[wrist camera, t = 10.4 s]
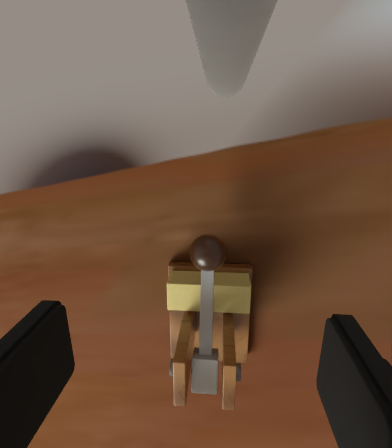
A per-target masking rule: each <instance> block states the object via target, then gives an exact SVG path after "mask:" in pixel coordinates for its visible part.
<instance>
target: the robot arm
mask: <svg viewBox="0 0 392 448" xmlns="http://www.w3.org/2000/svg"><path fill="white" fill-rule="evenodd" d="M74 367H75V362H74V356H73V350H72V344H71V338H70V332H69V326H68V320H67V314H66V309H65V306H63V305H61V303H60V302H59V301H48V300H43V301H41V302H40V303H39V304H38V305H37V306H35V307H34V308H33V309H32V310H31V311H30V312H29V313H28V314H27V315H26V316H25V317H24V318H23V319H22V320H21V321H19V322H18V323H17V324H16V325H15V326H14V327H13V328H12V329H11V330H10V331H9V332H8V333H7V334H6V335H4V336H3V337H2V338H1V339H0V448H27V447H28V445H29V443H30V442H31V440H32V439H33V437H34V435H35V434H36V432H37V430H38V429H39V427H40V426H41V424H42V422H43V421H44V419H45V417H46V416H47V414H48V413H49V411H50V409H51V408H52V406H53V405H54V403H55V401H56V400H57V398H58V396H59V395H60V393H61V392H62V390H63V388H64V387H65V385H66V384H67V382H68V380H69V379H70V377H71V375H72V374H73V371H74ZM317 390H318V393H319V396H320V398H321V401H322V404H323V407H324V409H325V412H326V415H327V417H328V420H329V423H330V426H331V428H332V431H333V434H334V436H335V439H336V442H337V445H338V447H339V448H392V366H391V365H390V364H389V362H388V361H387V360H385V359H383V358H382V357H381V355H380V354H379V352H378V351H377V349H376V348H375V347H374V345H373V344H372V342H371V341H370V340H369V338H368V337H367V335H366V334H365V333H364V331H363V330H362V328H361V327H360V325H359V324H358V323H357V321H356V320H355V318H354V317H353V316H352V315H340V314H333V315H332V317H331V318H328V319H327V320H326V324H325V330H324V336H323V343H322V349H321V355H320V362H319V368H318V374H317Z"/></svg>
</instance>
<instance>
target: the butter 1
mask: <svg viewBox="0 0 392 448" xmlns="http://www.w3.org/2000/svg"><path fill="white" fill-rule="evenodd" d="M200 292H201V271H174V270H172V271H171V274H170V277H169V279H168V282H167V307H168V310H180V311H200Z"/></svg>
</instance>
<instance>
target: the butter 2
mask: <svg viewBox="0 0 392 448" xmlns="http://www.w3.org/2000/svg"><path fill="white" fill-rule="evenodd" d="M250 300H251V284H250V279H249V274H248V273H227V272H215V273H214V296H213V312H222V313H243V314H249V313H250Z"/></svg>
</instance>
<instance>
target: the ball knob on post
mask: <svg viewBox="0 0 392 448" xmlns="http://www.w3.org/2000/svg"><path fill="white" fill-rule="evenodd" d="M226 255H227V252H226V247H225V245H224V243H223V242H222V241H221V240H220V239H219V238H218V237H216V236H213V235H203V236H200V237H198V238H197V239H196V240H195V241H194V242H193V243H192V245H191V248H190V259H191V261H192V263H193V264H194V266H195V267H196V268H198V269H199V270H201V292H200V332H199V348H198V347H194V351H193V355H192V366H191V393H203V394H218V349H215V348H212V339H213V296H214V271H215V270H217V269H219V268H220V267H221V266H222V265H223V263H224V262H225V259H226Z"/></svg>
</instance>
